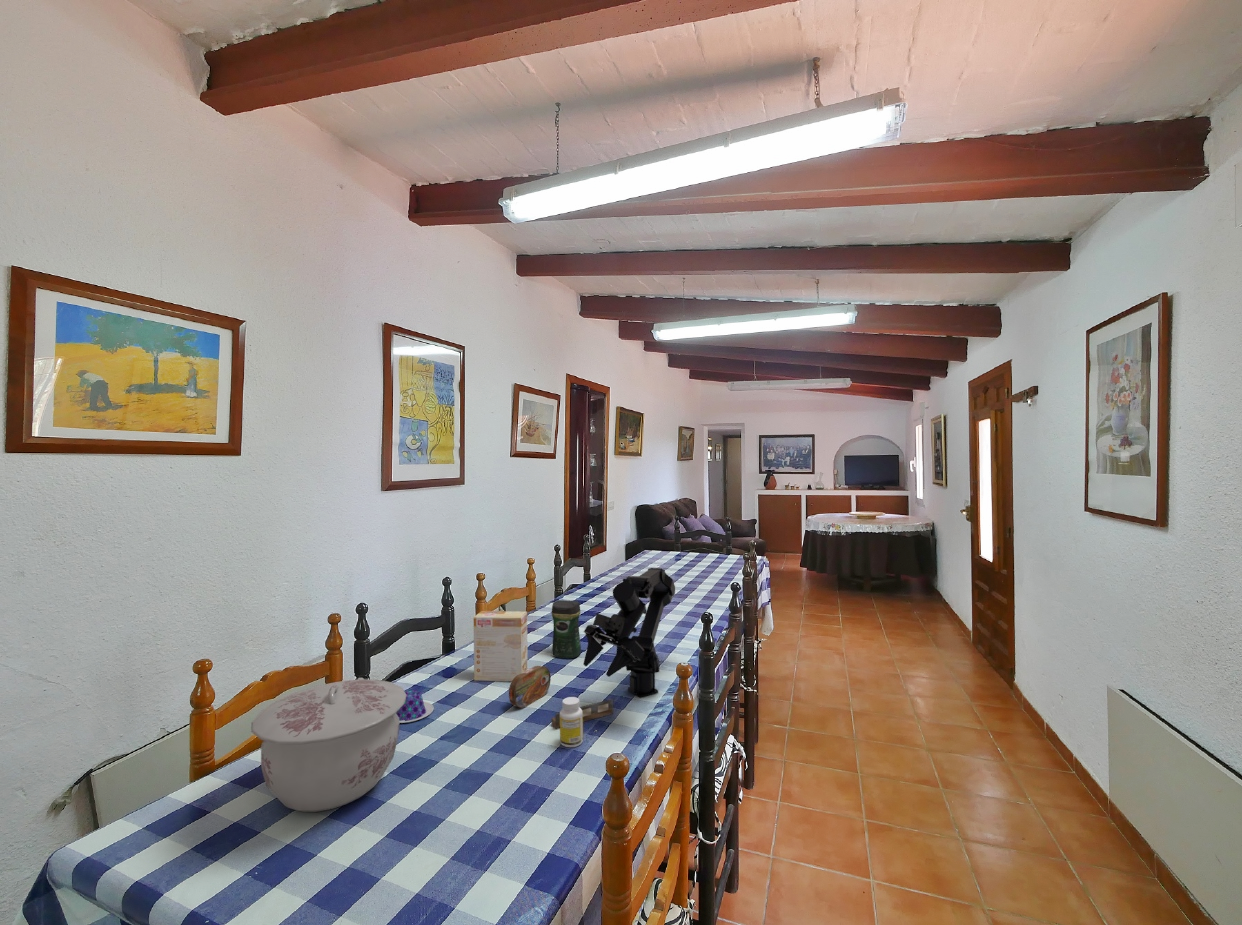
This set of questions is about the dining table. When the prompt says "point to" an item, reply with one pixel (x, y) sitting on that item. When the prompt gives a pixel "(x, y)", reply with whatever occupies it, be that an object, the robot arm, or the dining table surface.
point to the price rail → (590, 712)
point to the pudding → (414, 707)
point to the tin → (529, 686)
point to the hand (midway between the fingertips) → (595, 670)
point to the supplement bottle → (571, 723)
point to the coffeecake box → (500, 645)
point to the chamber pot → (329, 742)
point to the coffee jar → (566, 629)
